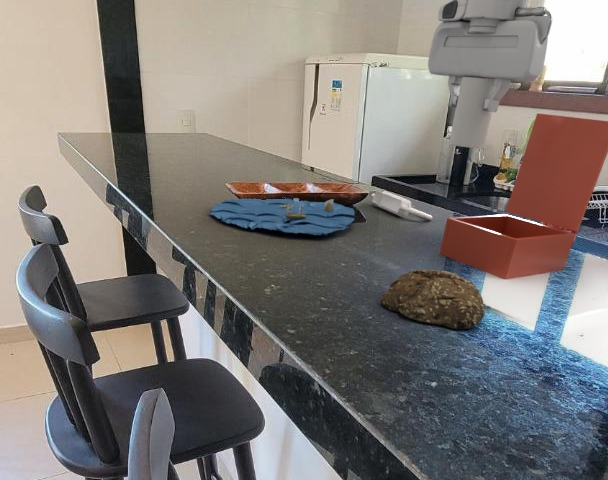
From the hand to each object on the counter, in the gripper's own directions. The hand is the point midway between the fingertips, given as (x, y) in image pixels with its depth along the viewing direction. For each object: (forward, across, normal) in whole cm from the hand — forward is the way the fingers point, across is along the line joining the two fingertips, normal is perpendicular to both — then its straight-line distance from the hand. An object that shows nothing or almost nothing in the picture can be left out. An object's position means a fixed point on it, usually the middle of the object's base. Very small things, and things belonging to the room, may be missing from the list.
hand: (471, 109), depth 86 cm
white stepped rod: (+23, +26, -14) cm, 37 cm away
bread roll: (+23, -22, +25) cm, 41 cm away
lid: (+7, -12, -10) cm, 17 cm away
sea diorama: (+23, +24, +18) cm, 38 cm away
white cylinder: (+6, 0, -1) cm, 6 cm away
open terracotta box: (+23, -12, -2) cm, 26 cm away
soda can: (+23, -7, -25) cm, 34 cm away
